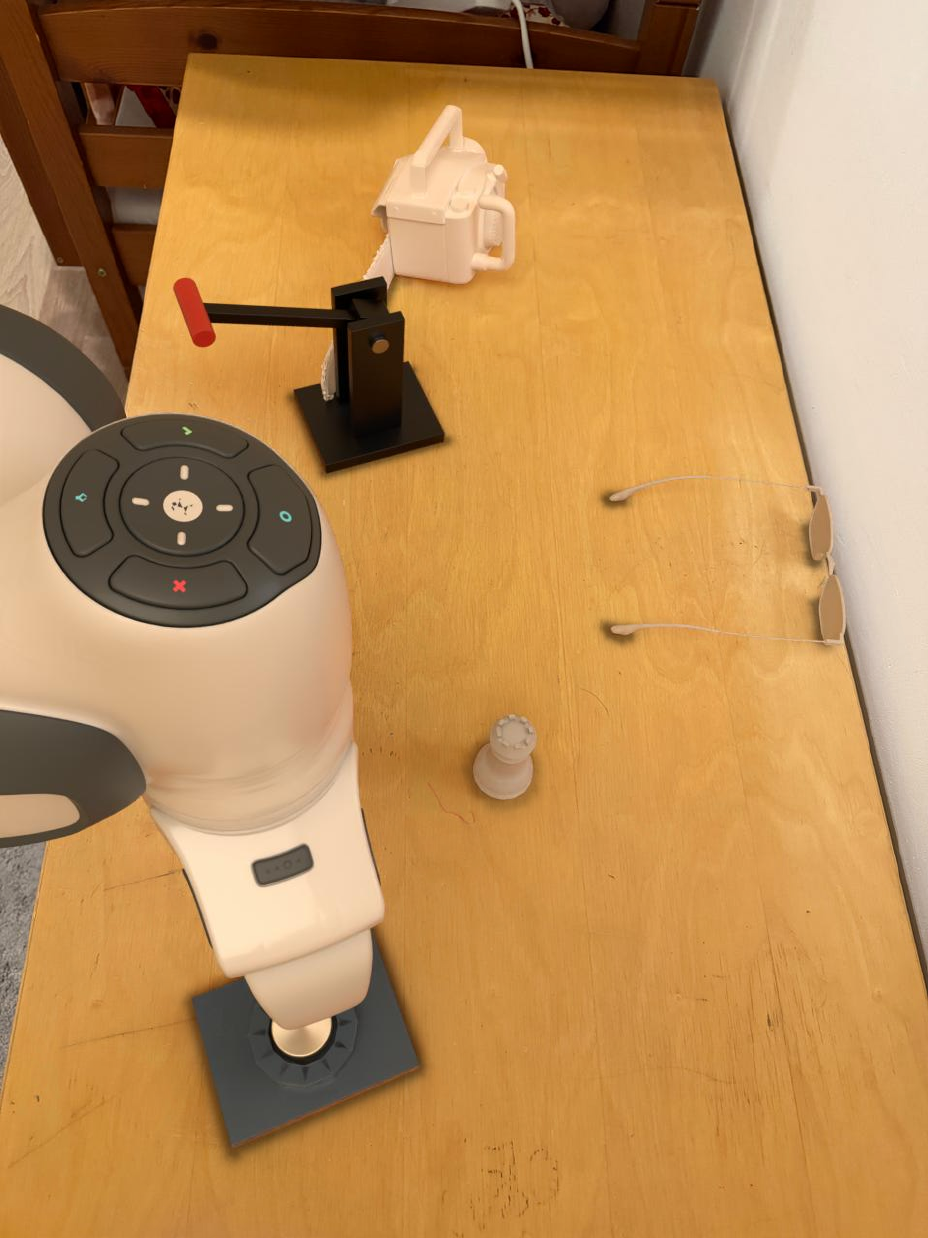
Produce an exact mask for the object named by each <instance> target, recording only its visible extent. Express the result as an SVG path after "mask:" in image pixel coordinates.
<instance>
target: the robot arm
mask: <svg viewBox="0 0 928 1238" xmlns="http://www.w3.org/2000/svg"><path fill="white" fill-rule="evenodd" d="M325 511H326V510H325V509H324V507H323V505H322V503H321V501H320V500H319V499H318V497H317V495H316V494H315V492H314V490H313V489H312V487H311V485H310V484H309V482H308V481H306V479H305V478H304V477H303V476H302V474H301V473H299V471H298V470H297V468H296V467H294V466H293V465H292V464H291V463H290V462H289V461H288V459H286V458H285V457H284V456H283V455H282V454H280V452H279V451H277V450H276V449H275V448H273V447H272V446H271V445H270V444H269V443H267V442H265V441H264V440H263V439H261V438H259V437H257V436H256V435H255V434H253V433H251V432H250V431H247V430H246V429H244V428H241V427H239V426H237V425H235V424H232V423H230V422H227V421H224V420H222V419H218V418H216V417H215V418H214V417H210V416H208V415H201V414H196V413H189V412H173V411H172V412H170V411H167V412H166V411H164V412H152V413H151V412H150V413H143V414H137V415H133V416H128V417H127V414H126V410H125V407H124V404H123V402H122V399H121V398H120V396H119V394H118V392H117V391H116V389H115V387H114V386H113V384H112V383H111V382H110V380H109V379H108V377H107V376H106V375H105V374H104V372H103V371H102V370H101V369H100V368H99V367H98V366H97V365H96V363H94V362H93V360H92V359H90V358H89V357H88V356H87V355H86V354H85V353H84V352H83V351H82V350H81V349H80V348H79V347H77V346H76V345H75V344H74V343H73V342H72V341H70V340H69V339H68V338H67V337H65V336H64V335H62V334H61V333H59V332H58V331H56V330H55V329H53V328H52V327H50V326H49V325H48V324H45V323H44V322H42V321H40V320H38V319H36V318H34V317H32V316H31V315H29V314H26V313H23V312H22V311H19V310H17V309H14V308H12V307H8V306H7V305H4V304H1V303H0V849H8V848H16V847H22V846H30V845H34V844H39V843H45V842H49V841H53V840H58V839H61V838H62V839H63V838H66V837H68V836H72V835H75V834H78V833H80V832H82V831H84V830H86V829H88V828H90V827H93V826H94V825H96V824H98V823H100V822H102V821H104V820H106V819H108V818H110V817H112V816H115V815H116V814H118V813H120V812H121V811H123V810H124V809H126V808H127V807H129V806H131V805H132V804H133V803H135V802H136V801H137V800H139V798H140V797H141V798H142V799H143V802H144V803H145V805H146V806H147V808H148V812H149V815H150V818H151V820H152V822H153V823H154V825H155V827H156V829H157V830H158V832H159V833H160V835H161V836H162V838H163V839H164V841H165V842H166V843H167V845H168V846H169V848H170V849H171V850H172V852H173V853H174V855H175V856H176V858H177V859H178V861H179V862H180V864H181V866H182V867H183V868H182V869H181V872H182V875H183V877H184V879H185V881H186V883H187V886H188V888H189V890H190V893H191V895H192V898H193V900H194V903H195V906H196V909H197V912H198V915H199V918H200V921H201V923H202V927H203V931H204V933H205V936H206V939H207V942H208V944H209V946H210V948H211V950H213V953H214V957H215V959H216V963H217V966H218V968H219V969H220V971H221V972H222V974H223V975H224V976H225V977H226V978H228V979H233V978H239V977H243V978H245V979H246V981H247V983H248V985H249V987H250V989H251V991H252V993H253V995H254V997H255V998H256V1000H257V1001H258V1003H259V1004H260V1006H261V1007H262V1008H263V1009H264V1011H265V1012H266V1013H267V1014H268V1015H269V1017H270V1018H271V1019H272V1020H273V1021H274V1022H275V1023H276V1024H277V1025H278V1026H279V1027H281V1028H283V1029H285V1030H295V1029H299V1028H302V1027H305V1026H308V1025H311V1024H313V1023H316V1022H319V1021H322V1020H324V1019H327V1018H329V1017H332V1016H334V1015H337V1014H339V1013H341V1012H344V1011H346V1010H348V1009H350V1008H352V1007H354V1006H356V1005H358V1004H359V1003H361V1002H362V1001H363V1000H364V998H365V996H366V994H367V991H368V988H369V983H370V977H371V970H372V960H373V950H372V939H371V931H370V928H371V929H372V928H374V927H376V926H377V925H379V924H381V923H383V922H384V920H385V917H386V901H385V897H384V894H383V890H382V888H381V887H382V883H381V877H380V873H379V870H378V866H377V861H376V859H375V855H374V851H373V847H372V843H371V839H370V835H369V831H368V825H367V822H366V816H365V811H364V808H363V807H362V806H361V799H360V790H359V768H360V767H359V764H360V761H359V759H360V757H359V746H358V744H357V742H356V741H355V731H354V729H355V728H354V727H355V715H354V714H355V713H354V693H353V686H352V681H351V678H350V674H351V670H352V663H353V626H352V625H353V622H352V621H353V620H352V612H351V611H352V610H351V601H350V594H349V588H348V581H347V575H346V571H345V570H346V569H345V565H344V562H343V556H342V554H341V553H342V552H341V550H340V547H339V544H338V541H337V538H336V536H335V532H334V529H333V527H332V524H331V523H330V522H331V521H330V520H329V518H328V515H327V514H326V512H325Z"/></svg>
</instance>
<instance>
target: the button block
mask: <svg viewBox="0 0 928 1238" xmlns="http://www.w3.org/2000/svg"><path fill="white" fill-rule="evenodd" d="M370 931H371V939H372V950H373V960H372V970H371V977H370V983H369V988H368V991H367V994H366V996H365V998H364V1000H363V1001H362V1002H361V1003H359V1004H358V1005H356V1006H354V1007H352V1008H350V1009H348V1010H346V1011H344V1012H341V1013H339V1014H337V1015H334V1016H332V1017H331V1018H332V1023H333V1030H332V1035H331V1039H330V1041H329V1043H328V1045H327V1046H326V1048H325V1049H324V1050H323V1051H322V1052H321V1053H320V1054H318V1055H317V1056H315V1057H313V1058H310V1059H306V1060H296V1059H292V1058H290V1057H288V1056H286V1055H285V1054H284V1053H282V1051H281V1050H280V1049H279V1048H278V1046H277V1045H276V1043H275V1041H274V1039H273V1036H272V1031H271V1024H272V1019H271V1018H270V1017H269V1015H268V1014H267V1013H266V1012H265V1011H264V1009H263V1008H262V1007H261V1006H260V1004H259V1003H258V1001H257V1000H256V998H255V997H254V995H253V993H252V991H251V989H250V987H249V985H248V983H247V981H246V979H245V977H242V978H240V979H237V980H234V981H232V982H230V983H227V984H224V985H222V986H219V987H216V988H214V989H212V990H209V991H206V992H204V993H201V994H198V995H196V996H194V997H192V998H191V1002H192V1005H193V1009H194V1013H195V1016H196V1021H197V1024H198V1027H199V1031H200V1035H201V1040H202V1043H203V1047H204V1051H205V1054H206V1059H207V1061H208V1066H209V1069H210V1073H211V1077H212V1081H213V1084H214V1088H215V1092H216V1095H217V1096H216V1097H217V1100H218V1103H219V1107H220V1111H221V1114H222V1119H223V1121H224V1125H225V1129H226V1133H227V1137H228V1141H229V1144H230V1147H232V1148H235V1149H238V1148H239V1147H242V1146H244V1145H246V1144H249V1143H250V1142H254V1141H255V1140H258V1139H260V1138H263V1137H265V1136H267V1135H269V1134H271V1133H274V1132H276V1131H278V1130H281V1129H283V1128H286V1127H288V1126H290V1125H292V1124H295V1123H297V1122H299V1121H301V1120H303V1119H306V1118H308V1117H310V1116H313V1115H315V1114H318V1113H320V1112H322V1111H325V1110H327V1109H329V1108H331V1107H333V1106H336V1105H338V1104H341V1103H342V1102H346V1101H348V1100H349V1099H350V1100H351V1099H352V1098H355V1097H356V1096H359V1095H361V1094H363V1093H366V1092H368V1091H370V1090H373V1089H376V1088H377V1087H380V1086H382V1085H384V1084H386V1083H388V1082H391V1081H393V1080H396V1079H398V1078H401V1077H402V1076H405V1075H407V1074H410V1073H412V1072H414V1071H416V1070H419V1067H420V1062H419V1060H418V1056H417V1054H416V1050H415V1048H414V1045H413V1042H412V1039H411V1036H410V1034H409V1031H408V1028H407V1026H406V1023H405V1020H404V1017H403V1015H402V1011H401V1009H400V1006H399V1003H398V1000H397V998H396V994H395V992H394V988H393V986H392V983H391V981H390V977H389V975H388V972H387V969H386V966H385V963H384V960H383V958H382V955H381V952H380V949H379V947H378V944H377V941H376V938H375V936H374V935H375V934H374V933H373V930H372V928H370Z"/></svg>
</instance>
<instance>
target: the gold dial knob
mask: <svg viewBox="0 0 928 1238" xmlns="http://www.w3.org/2000/svg"><path fill="white" fill-rule="evenodd" d="M332 1030H333V1023H332V1018H331V1017H329V1018H327V1019H324V1020H322V1021H319V1022H316V1023H313V1024H311V1025H308V1026H305V1027H302V1028H299V1029H295V1030H285V1029H283V1028H281V1027H279V1026H278V1025H277V1024H276V1023H275V1022H274V1021H273V1020H272V1024H271V1031H272V1036H273V1039H274V1041H275V1043H276V1045H277V1046H278V1048H279V1049H280V1050H281V1051H282V1053H284V1054H285V1055H286V1056H288V1057H290V1058H292V1059H296V1060H306V1059H310V1058H313V1057H315V1056H317V1055H318V1054H320V1053H321V1052H322V1051H323V1050H324V1049H325V1048H326V1046H327V1045H328V1043H329V1041H330V1039H331V1035H332Z"/></svg>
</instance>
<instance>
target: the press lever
mask: <svg viewBox="0 0 928 1238" xmlns="http://www.w3.org/2000/svg"><path fill="white" fill-rule="evenodd" d="M172 290H173V293H174V295H175V298H176V301H177V303H178V306H179V309H180V311H181V314H182V317H183V319H184V323H185V326H186V327H187V331H188V333H189V336H190V338H191V340H192V344H193V345H195V346H196V347H197V348H202V349H203V348H208V347H210V346H212V345H213V344H214V343H215V342H216V339H217V334H216V332H215V330H214V327H213V325H212V324H225V325H246V326H247V325H249V326H270V327H271V326H272V327H292V328H293V327H294V328H295V327H296V328H317V329H319V328H321V329H333V328H342V329H347V331H348V326H347V324H348V323H351V322H355V321H359V320H363V319H368V318H372V317H376V316H380V315H385V314H389V313H390V310H389V309H388V306H387V307H386V305H385V303H384V301H383V300H370V299H352V300H351V303H350V306H349V308H348V310H336V309H332V308H316V307H295V306H279V305H278V306H276V305H259V304H258V305H257V304H240V303H239V304H238V303H237V304H235V303H219V302H218V303H217V302H203V298H202V296H201V293H200V291H199V288H198V286H197V283H196V281H195V280H193V278H190V277H181V278H179V279H177V280H175V282H174V283H173V286H172Z"/></svg>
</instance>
